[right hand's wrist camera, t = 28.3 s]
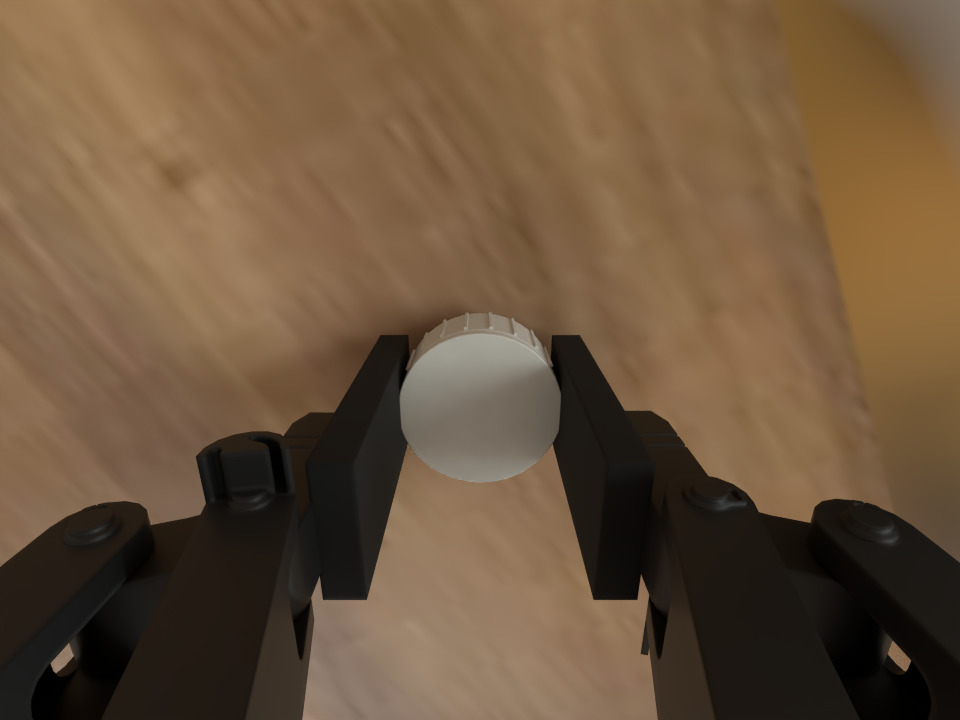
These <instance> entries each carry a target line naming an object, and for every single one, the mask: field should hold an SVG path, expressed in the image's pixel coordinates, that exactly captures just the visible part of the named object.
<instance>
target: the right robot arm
mask: <svg viewBox="0 0 960 720" xmlns="http://www.w3.org/2000/svg"><path fill="white" fill-rule="evenodd" d="M409 359H410V358H409V339H408V335H381V336H380V337H379V339H378V341H377V342H376V344H375V346H374V347H373V349H372V351H371V352H370V354H369V356H368V357H367V359H366V361H365V363H364V364H363V366H362V368H361V369H360V371H359V373H358V374H357V376H356V378H355V379H354V381H353V383H352V384H351V386H350V388H349V389H348V391H347V393H346V394H345V396H344V398H343V400H342V401H341V403H340V405H339V406H338V408H337V410H336V411H335V413H308V414H307V415H305V416H304V417H302V418H300V419H299V420H297V421H296V422H294V423H293V424H292V425H291V426H290V428H289V429H288V430H287V432H286V433H285V435H284V437H283V436H282V435H281V434H277V433H272V432H247V433H241V434H235V435H232V436H229V437H226V438H223V439H220V440H218V441H216V442H214V443H212V444H210V445H209V446H207V447H205V448H204V449H203V450H202V451H201V452H200V453H199V454H198V455H197V456H196V459H197V464H198V468H199V473H200V478H201V482H202V487H203V491H204V496H205V500H206V504H205V507H204V509H203V511H202V513H201V515H198V516H194V517H190V518H186V519H180V520H175V521H170V522H165V523H160V524H155V525H151V524H150V520H149V517H148V513H147V510H146V509H145V508H144V507H143V506H141V505H140V504H139V503H133V502H127V501H122V502H111V503H110V502H108V503H102V504H98V505H97V506H96V505H94V506H90V507H87V508H84V509H83V510H81V511H79V512H77V513H74V514H72V515H70V516H67V517H66V518H64V519H62V520H61V521H59V522H58V523H56V524H55V525H53V526H52V527H50V528H49V529H47V530H46V531H45V532H44V533H42V534H41V535H40V536H39V537H37V538H36V539H35V540H33V541H32V542H31V543H30V544H28V545H27V546H26V547H25V548H23V549H22V550H21V551H20V552H18V553H17V554H16V555H15V556H13V557H12V558H11V559H9V560H8V561H7V562H6V563H4V564H3V565H2V566H1V567H0V720H302V717H303V709H304V700H305V692H306V684H307V676H308V667H309V659H310V651H311V643H312V634H313V626H314V615H313V608H312V601H311V597H312V594H313V591H314V589H315V586H316V584H317V581H318V579H319V576H320V581H321V588H322V595H323V600H367V597H368V593H369V589H370V586H371V582H372V578H373V574H374V570H375V567H376V563H377V559H378V555H379V551H380V547H381V544H382V540H383V536H384V532H385V528H386V525H387V521H388V517H389V513H390V509H391V505H392V502H393V498H394V494H395V490H396V486H397V483H398V479H399V475H400V471H401V467H402V464H403V460H404V456H405V452H406V448H407V444H408V442H407V440H406V438H405V436H404V434H403V431H402V428H401V413H400V390H401V387H402V384H403V381H404V378H405V376H406V373H407V370H406V367H407V364H408V361H409ZM551 361H552V363H553V370H554V373H555V376H556V378H557V381H558V384H559V387H560V391H561V404H560V420H559V431H558V434H557V436H556V438H555V440H554V442H553V447H554V451H555V454H556V458H557V462H558V466H559V470H560V473H561V477H562V481H563V485H564V489H565V492H566V496H567V500H568V504H569V508H570V512H571V515H572V519H573V523H574V527H575V531H576V534H577V538H578V542H579V546H580V550H581V553H582V557H583V561H584V565H585V569H586V573H587V576H588V580H589V584H590V588H591V592H592V595H593V599H594V600H637V599H638V591H639V584H640V577H641V575H642V578H643V580H644V583H645V585H646V588H647V590H648V593H649V601H648V608H647V615H646V621H645V628H644V635H643V642H642V649H641V654H644V655H648V651H649V650H650V658H651V666H652V675H653V683H654V691H655V699H656V708H657V716H658V720H960V563H959V562H958V561H957V560H955V559H954V558H953V557H952V556H950V555H949V554H948V553H947V552H945V551H944V550H943V549H941V548H940V547H939V546H938V545H936V544H935V543H934V542H933V541H931V540H930V539H929V538H927V537H926V536H925V535H924V534H922V533H921V532H920V531H919V530H917V529H916V528H915V527H913V526H912V525H911V524H909V523H907V522H906V521H904V520H903V519H901V518H899V517H898V516H896V515H895V514H893V513H890V512H888V511H885V510H883V509H881V508H879V507H878V506H876V505H872V504H869V503H863V502H861V501H856V500H843V499H832V500H827V501H822V502H821V503H819V504H818V505H817V506H816V507H815V508H814V511H813V515H812V519H811V522H810V523H807V522H802V521H797V520H792V519H787V518H782V517H776V516H772V515H768V514H764V513H760V512H758V510H757V508H756V506H755V504H754V502H753V501H752V500H751V498H750V497H749V496H748V495H747V493H746V492H744V491H743V490H741V489H739V488H738V487H736V486H735V485H733V484H731V483H729V482H726V481H724V480H721V479H719V478H715V477H710V476H708V475H707V474H706V472H705V471H704V470H703V468H702V467H701V466H700V464H699V463H698V461H697V460H696V459H695V457H694V456H693V455H692V453H691V452H690V451H689V449H688V448H687V447H685V444H684V443H683V441H682V440H681V439H680V437H677V433H676V432H675V430H674V429H673V428H672V426H671V425H670V424H669V422H668V421H666V420H665V419H663V418H661V417H660V416H658V415H657V414H655V413H653V412H652V411H625V410H624V409H623V407H622V405H621V404H620V402H619V400H618V399H617V397H616V395H615V394H614V392H613V390H612V389H611V387H610V385H609V384H608V382H607V380H606V379H605V377H604V375H603V374H602V372H601V370H600V369H599V367H598V365H597V363H596V362H595V360H594V358H593V357H592V355H591V353H590V352H589V350H588V348H587V347H586V345H585V343H584V342H583V340H582V338H581V337H580V335H552V347H551ZM892 640H893V641H894V642H895V643H896V644H897V645H898V647H899V648H900V649H901V650H902V651H903V652H904V653H905V654H906V655H907V656H908V657H909V658H910V660H911V663H910V665H909V668H908V670H907V671H906V672H905V671H903V670H902V669H901V668H900V667H899V666H898V665H897V664H896V663H895V662H894V661H893V660H892V659H891V658H890V657H889V655H888V651H889V648H890V646H891V643H892ZM68 643H69V644H70V647H71V649H72V652H73V655H74V657H73V658H72V659H71V660H70V661H69V662H68V663H67V665H66V666H65V667H64V668H62V669H61V670H60V671H59V672H57V673H55V672H54V671H53V669H52V666H51V664H50V663H51V662H52V661H53V660H54V659H55V658H56V656H57V655H58V654H59V653H60V652H61V651H62V650H63V649H64V648H65V647H66V646H67V644H68Z"/></svg>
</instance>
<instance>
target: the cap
mask: <svg viewBox="0 0 960 720" xmlns="http://www.w3.org/2000/svg"><path fill="white" fill-rule="evenodd" d="M406 370H407V373H406V376H405V378H404V381H403V384H402V387H401V390H400V413H401V428H402V431H403V434H404V436H405V438H406V440H407V442H408V444H409V445H410V447H411V448H412V450H413V451H414V452H415V453H416V455H417V456H418V457H419V458H420V459H421V460H422V461H423V462H425V463H426V464H427V465H429V466H430V467H431V468H433V469H435V470H436V471H438V472H440V473H442V474H444V475H446V476H449V477H452V478H455V479H458V480H463V481H469V482H491V481H498V480H502V479H506V478H509V477H512V476H514V475H517V474H519V473H521V472H523V471H525V470H526V469H528V468H529V467H531V466H532V465H534V464H535V463H536V462H537V461H538V460H539V459H541V458H542V457H543V455H544V454H545V453H546V452H547V451H548V449H549V448H550V446H551V445H552V443H553V442H554V440H555V438H556V436H557V434H558V431H559V420H560V404H561V391H560V387H559V384H558V381H557V378H556V376H555V373H554V370H553V363H552V361H551V358H550V355H549V353H548V350H547V348H546V346H544V347H543V345H542V344H541V343H540V341H539V340H538V339H537V338H536V336H535V335H534V333H533V331H532V330H530V331H529V330H528V329H527V328H525V327H524V326H522V325H521V324H519V323H517V322H515V320H514V318H511V319H508V318H506V317H503V316H499V315H494V314H492V312H489V313H488V314H486V313H473V314H469V313H468V312H467V313H465V315H462V316H458V317H455V318H452V319H450V320H448V321H447V320H446V319H445V320H443V323H442V324H440V325H439V326H437V327H436V328H434V329H433V330H432V331H431V332H429V333H428V332H426V333H425V336H424V339H423V340H422V341H421V342H420V344H419V345H418V347H417V348H416V350H415V349H413V351H412V353H411V356H410V359H409V361H408V364H407V367H406Z"/></svg>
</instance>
